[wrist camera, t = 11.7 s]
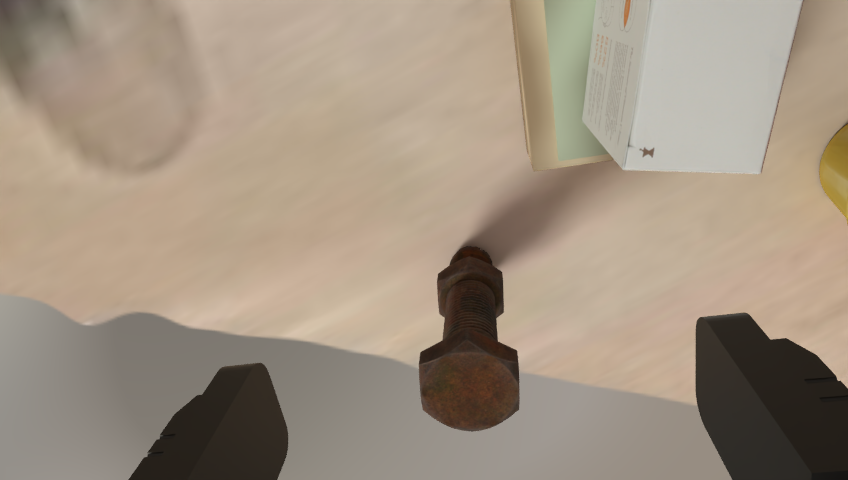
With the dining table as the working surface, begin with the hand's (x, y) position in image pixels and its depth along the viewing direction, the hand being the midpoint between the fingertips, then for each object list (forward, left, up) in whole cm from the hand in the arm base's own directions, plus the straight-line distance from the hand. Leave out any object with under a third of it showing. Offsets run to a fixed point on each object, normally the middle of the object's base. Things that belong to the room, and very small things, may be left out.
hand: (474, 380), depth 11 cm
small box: (-9, -2, -25) cm, 27 cm away
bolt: (+2, +12, -30) cm, 33 cm away
